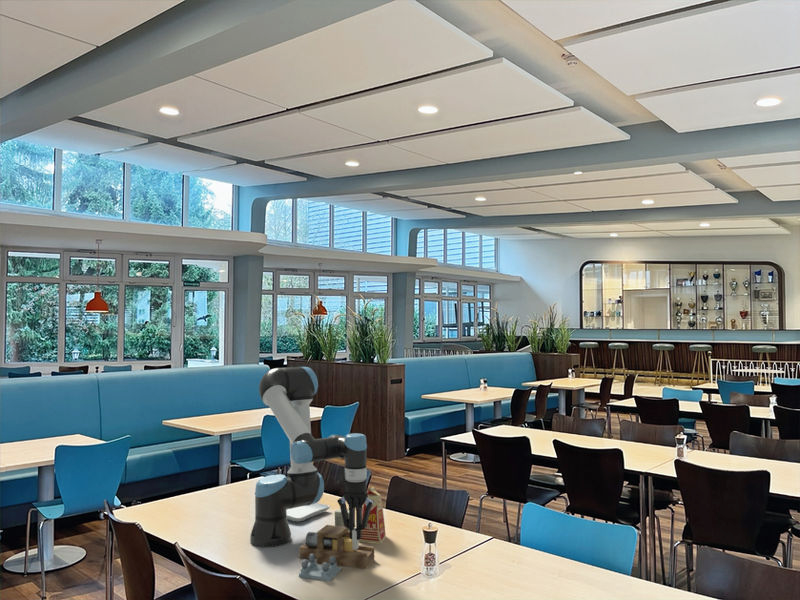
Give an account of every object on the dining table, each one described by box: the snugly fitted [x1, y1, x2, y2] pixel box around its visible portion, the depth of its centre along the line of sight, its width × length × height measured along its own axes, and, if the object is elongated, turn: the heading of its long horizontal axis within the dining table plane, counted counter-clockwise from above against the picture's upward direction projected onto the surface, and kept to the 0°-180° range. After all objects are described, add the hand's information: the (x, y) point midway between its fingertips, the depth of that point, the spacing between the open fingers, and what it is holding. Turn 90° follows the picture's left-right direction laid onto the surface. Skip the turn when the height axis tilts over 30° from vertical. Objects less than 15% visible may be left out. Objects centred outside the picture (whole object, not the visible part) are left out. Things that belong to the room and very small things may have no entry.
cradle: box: [298, 554, 342, 582], centre depth 209 cm, size 11×9×5 cm
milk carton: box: [359, 486, 386, 545], centre depth 242 cm, size 9×9×20 cm
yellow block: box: [332, 537, 355, 552], centre depth 220 cm, size 7×4×4 cm, turn 73°
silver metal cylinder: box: [304, 531, 334, 550], centre depth 222 cm, size 10×5×5 cm, turn 73°
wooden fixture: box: [298, 524, 375, 570], centre depth 221 cm, size 26×8×10 cm, turn 73°
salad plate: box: [286, 502, 331, 523], centre depth 272 cm, size 21×21×3 cm
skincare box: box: [334, 508, 350, 531], centre depth 237 cm, size 6×4×12 cm
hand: (355, 548), depth 218 cm, fingers closed
